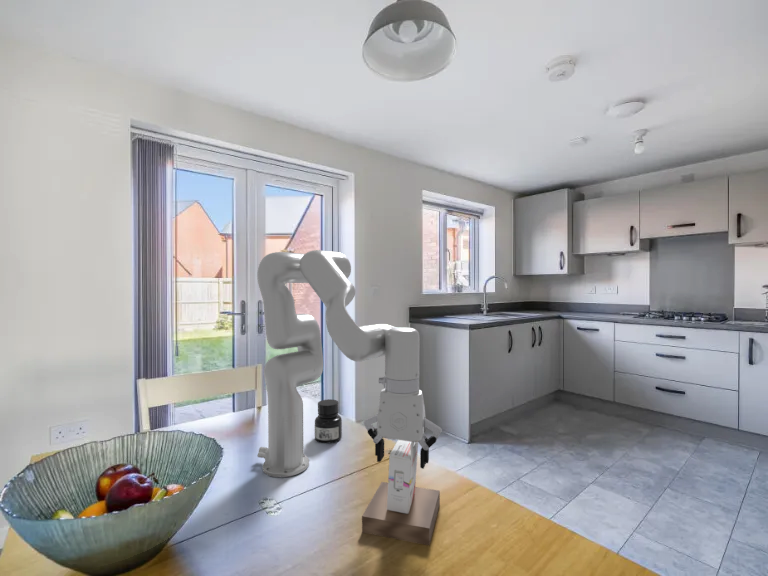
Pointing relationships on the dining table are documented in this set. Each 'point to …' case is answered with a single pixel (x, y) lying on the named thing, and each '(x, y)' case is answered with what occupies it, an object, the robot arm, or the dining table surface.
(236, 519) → the dining table surface
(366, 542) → the dining table surface
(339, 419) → the ink bottle
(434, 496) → the walnut block
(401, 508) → the ink cartridge box
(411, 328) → the robot arm
